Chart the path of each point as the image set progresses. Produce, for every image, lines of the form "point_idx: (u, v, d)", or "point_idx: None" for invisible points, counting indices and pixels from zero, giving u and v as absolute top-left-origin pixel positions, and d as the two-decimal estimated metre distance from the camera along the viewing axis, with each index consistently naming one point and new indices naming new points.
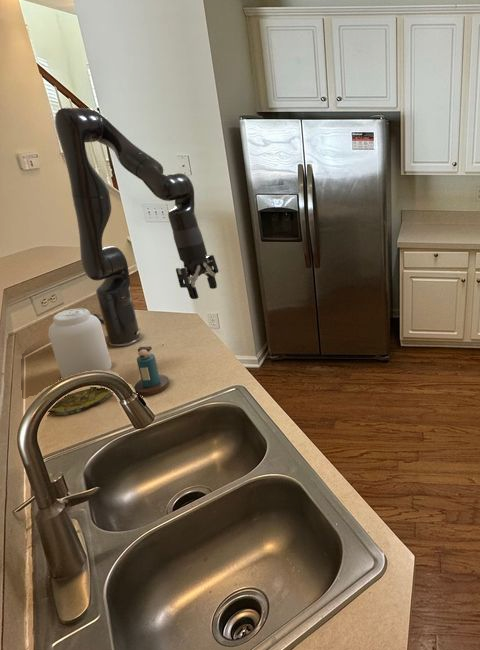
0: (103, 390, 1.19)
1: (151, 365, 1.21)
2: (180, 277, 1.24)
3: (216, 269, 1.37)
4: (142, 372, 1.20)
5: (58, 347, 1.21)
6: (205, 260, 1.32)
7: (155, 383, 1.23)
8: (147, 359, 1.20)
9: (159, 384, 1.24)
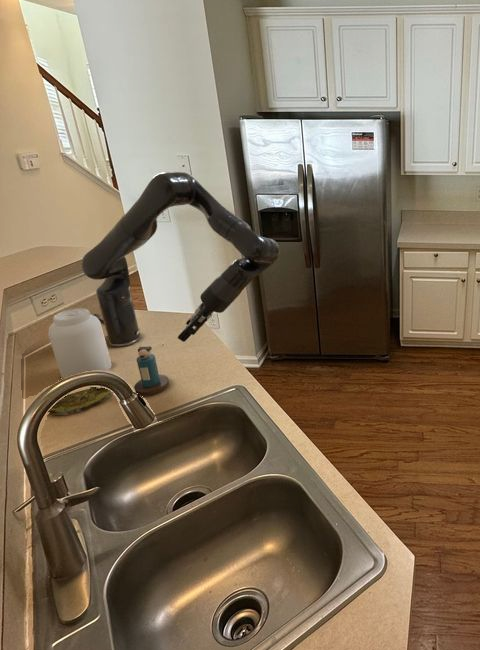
0: (103, 390, 1.19)
1: (151, 365, 1.21)
2: (196, 324, 1.13)
3: None
4: (142, 372, 1.20)
5: (58, 347, 1.21)
6: None
7: (155, 383, 1.23)
8: (147, 359, 1.20)
9: (159, 384, 1.24)
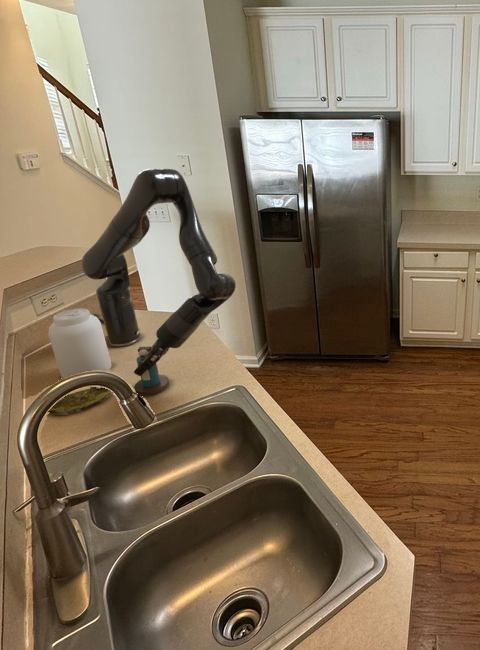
0: (103, 390, 1.19)
1: None
2: (149, 362, 1.15)
3: None
4: None
5: (58, 347, 1.21)
6: None
7: (155, 383, 1.23)
8: None
9: (159, 384, 1.24)
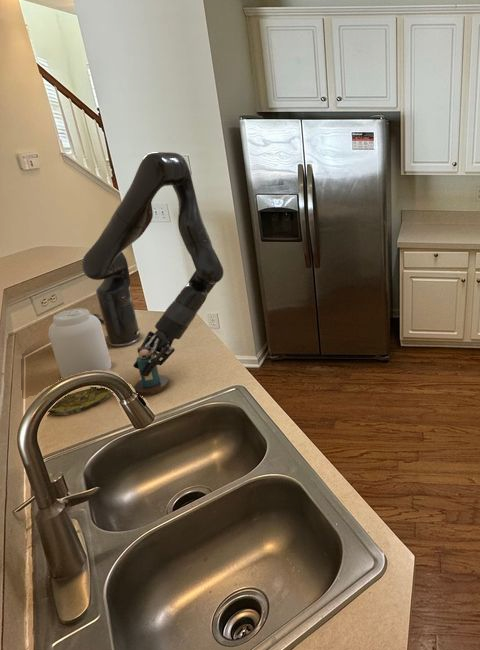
0: (103, 390, 1.19)
1: None
2: (164, 355, 1.18)
3: None
4: None
5: (58, 347, 1.21)
6: None
7: (157, 382, 1.23)
8: (149, 358, 1.20)
9: (159, 384, 1.24)
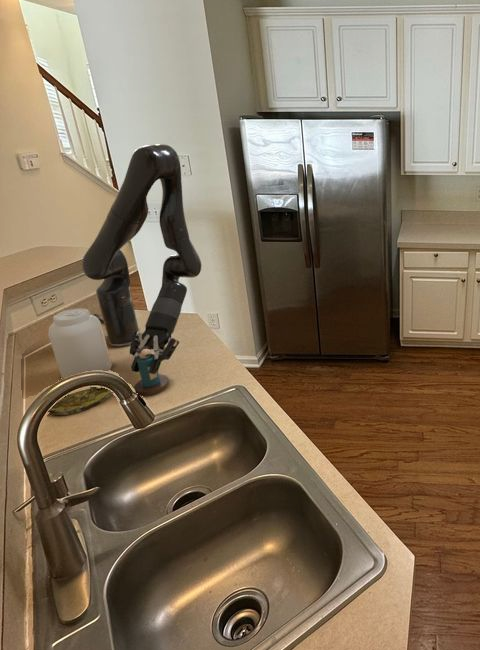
0: (103, 390, 1.19)
1: None
2: (171, 348, 1.22)
3: None
4: None
5: (58, 347, 1.21)
6: None
7: (159, 379, 1.25)
8: (151, 357, 1.21)
9: (159, 384, 1.24)
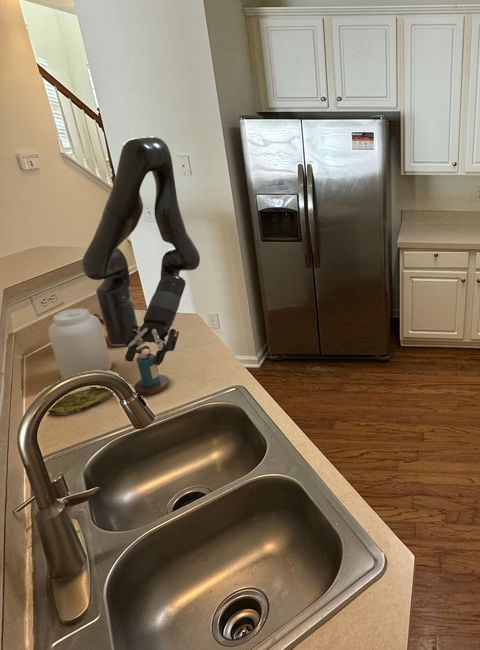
0: (103, 390, 1.19)
1: None
2: (174, 338, 1.22)
3: None
4: (152, 370, 1.21)
5: (58, 347, 1.21)
6: None
7: (159, 379, 1.25)
8: (151, 356, 1.21)
9: (159, 384, 1.24)
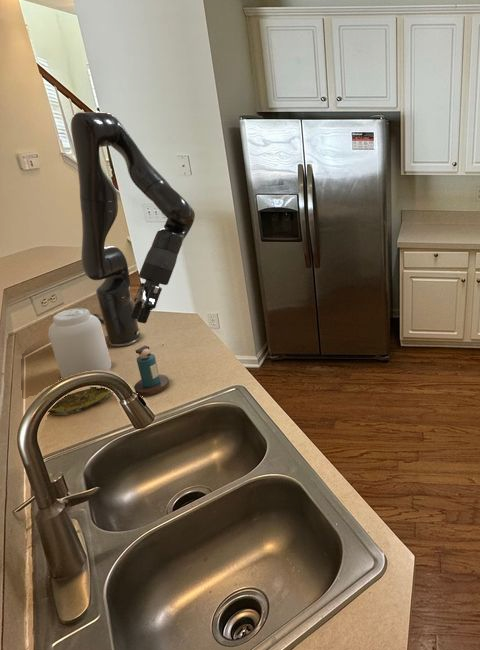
0: (103, 390, 1.19)
1: (155, 361, 1.23)
2: (153, 295, 1.15)
3: None
4: (152, 370, 1.21)
5: (58, 347, 1.21)
6: None
7: (159, 378, 1.25)
8: (151, 356, 1.21)
9: (159, 384, 1.24)
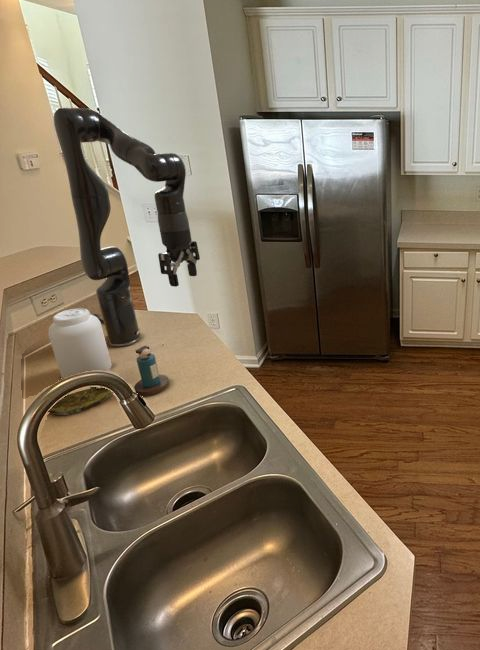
0: (103, 390, 1.19)
1: (155, 361, 1.23)
2: (162, 263, 1.18)
3: (198, 256, 1.31)
4: (152, 370, 1.21)
5: (58, 347, 1.21)
6: (188, 246, 1.26)
7: (159, 378, 1.25)
8: (151, 356, 1.21)
9: (159, 384, 1.24)
